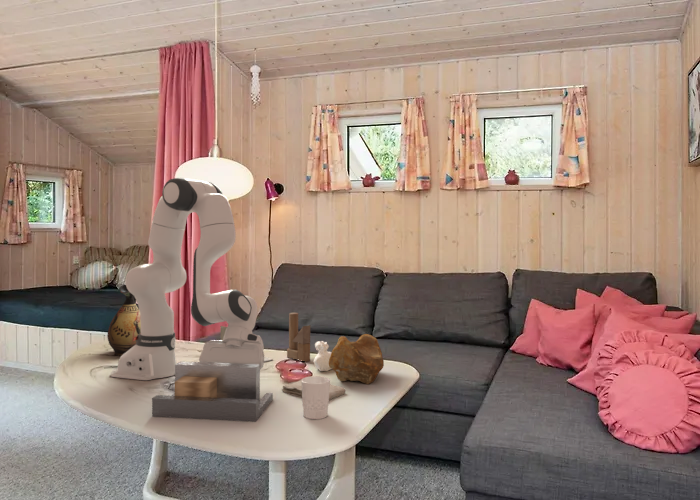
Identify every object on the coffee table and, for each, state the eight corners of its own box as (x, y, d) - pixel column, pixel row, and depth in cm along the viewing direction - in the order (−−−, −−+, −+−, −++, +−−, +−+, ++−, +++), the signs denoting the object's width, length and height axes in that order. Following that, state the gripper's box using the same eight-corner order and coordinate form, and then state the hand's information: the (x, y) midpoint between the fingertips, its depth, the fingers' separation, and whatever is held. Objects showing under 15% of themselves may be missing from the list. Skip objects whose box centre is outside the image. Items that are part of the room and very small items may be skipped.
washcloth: (303, 384, 183) (303, 375, 183) (347, 394, 173) (347, 385, 173) (279, 393, 174) (279, 383, 173) (324, 404, 163) (324, 394, 163)
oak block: (174, 413, 152) (174, 381, 152) (183, 406, 158) (183, 376, 158) (209, 415, 151) (209, 383, 151) (216, 408, 157) (216, 377, 157)
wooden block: (302, 362, 212) (303, 316, 211) (286, 357, 220) (287, 312, 219) (310, 361, 214) (311, 315, 213) (294, 356, 222) (294, 312, 221)
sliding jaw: (174, 405, 159) (174, 364, 158) (180, 401, 163) (180, 361, 162) (255, 409, 156) (256, 367, 156) (259, 404, 160) (259, 364, 160)
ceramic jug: (139, 358, 215) (139, 282, 214) (100, 357, 215) (100, 281, 214) (155, 348, 232) (155, 278, 231) (119, 348, 232) (119, 277, 231)
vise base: (152, 416, 150) (152, 398, 150) (180, 395, 169) (180, 379, 169) (255, 421, 147) (256, 403, 147) (272, 399, 166) (272, 383, 166)
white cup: (301, 410, 156) (301, 376, 156) (328, 410, 157) (329, 375, 156) (301, 420, 148) (301, 384, 148) (330, 420, 149) (330, 383, 149)
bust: (332, 371, 208) (317, 345, 211) (345, 361, 205) (330, 335, 208) (314, 378, 198) (298, 351, 201) (328, 368, 194) (312, 340, 198)
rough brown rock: (360, 394, 175) (365, 348, 174) (320, 380, 185) (324, 337, 184) (398, 381, 194) (403, 339, 193) (360, 369, 204) (364, 329, 203)
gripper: (203, 334, 177) (191, 372, 167) (265, 336, 174) (256, 375, 165) (208, 345, 181) (196, 382, 172) (268, 347, 179) (260, 386, 170)
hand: (226, 379), depth 168 cm, fingers closed
